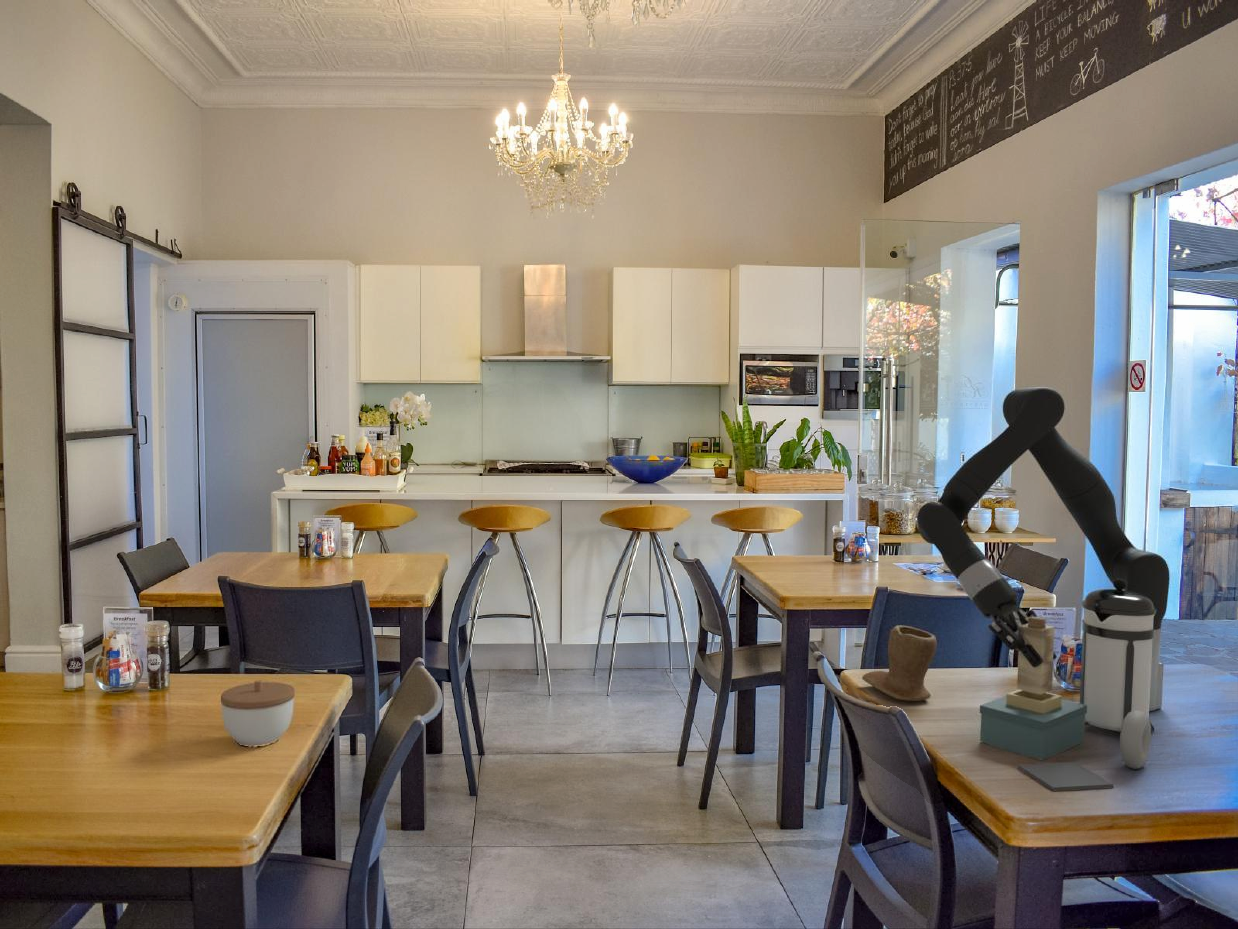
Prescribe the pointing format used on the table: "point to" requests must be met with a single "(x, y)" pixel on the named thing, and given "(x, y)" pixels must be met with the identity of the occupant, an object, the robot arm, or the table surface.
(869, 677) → the brown top hat
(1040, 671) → the wooden block
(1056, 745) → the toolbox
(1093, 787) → the rubber mat
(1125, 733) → the donut
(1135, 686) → the coffee press
